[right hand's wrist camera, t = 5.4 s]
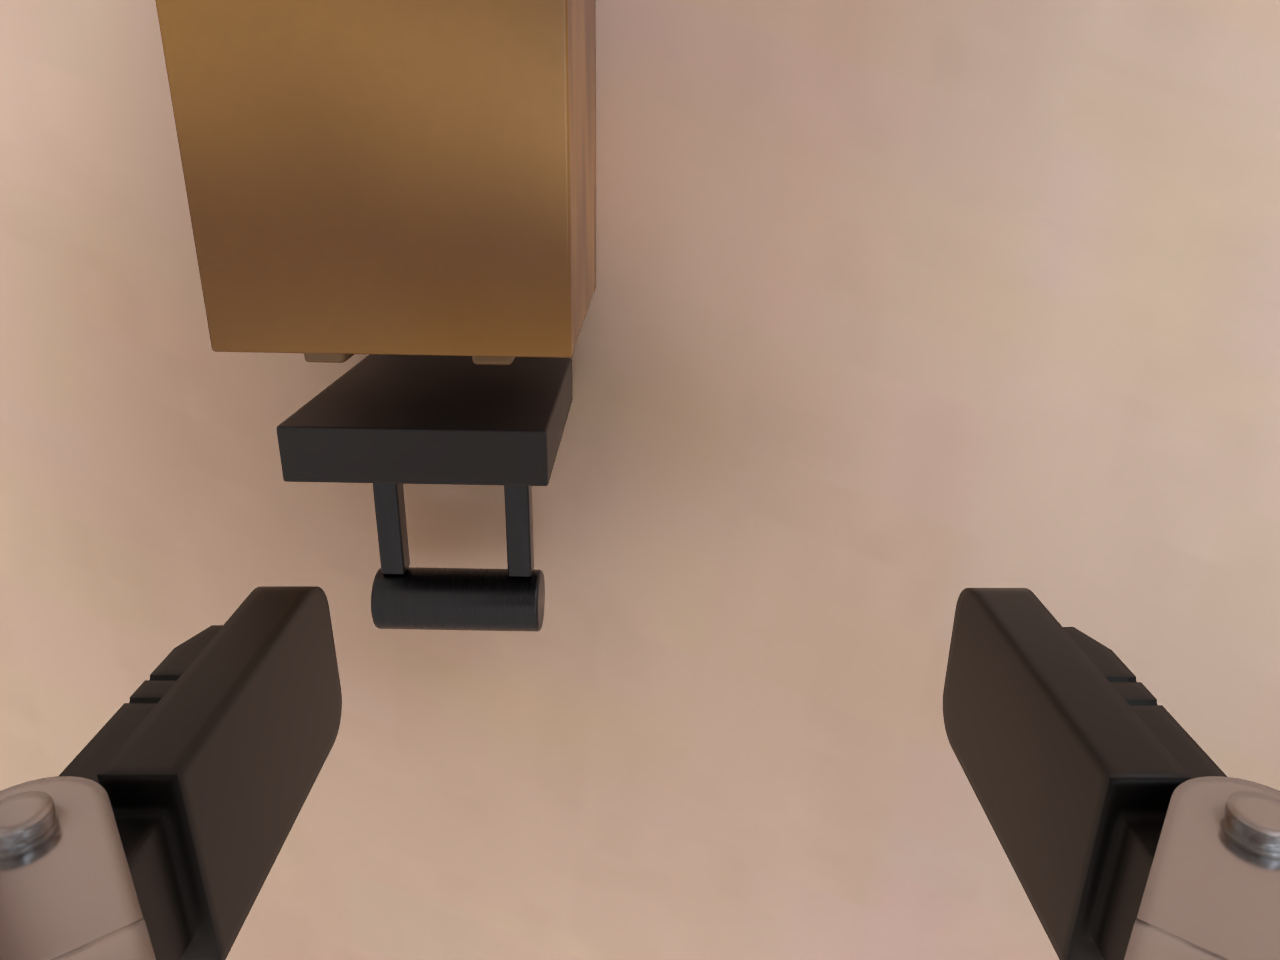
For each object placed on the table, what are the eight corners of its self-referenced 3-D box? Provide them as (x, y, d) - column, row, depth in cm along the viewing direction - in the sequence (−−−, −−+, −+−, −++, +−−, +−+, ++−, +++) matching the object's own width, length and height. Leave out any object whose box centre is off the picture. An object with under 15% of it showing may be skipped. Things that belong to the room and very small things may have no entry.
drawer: (574, 574, 26) (553, 704, 20) (390, 570, 26) (313, 700, 20) (564, -261, 19) (526, -445, 13) (308, -265, 19) (151, -451, 13)
